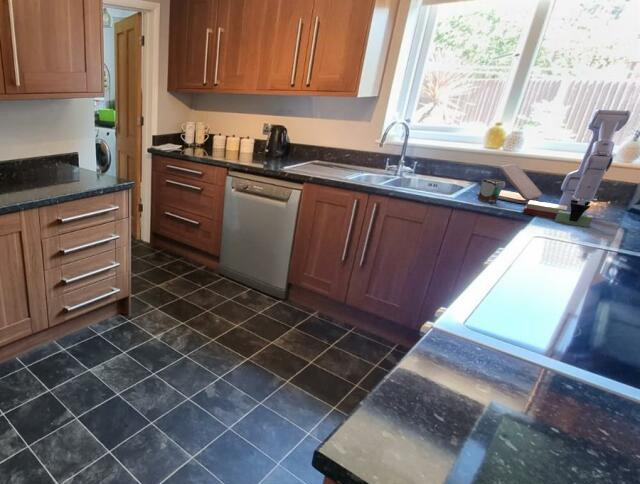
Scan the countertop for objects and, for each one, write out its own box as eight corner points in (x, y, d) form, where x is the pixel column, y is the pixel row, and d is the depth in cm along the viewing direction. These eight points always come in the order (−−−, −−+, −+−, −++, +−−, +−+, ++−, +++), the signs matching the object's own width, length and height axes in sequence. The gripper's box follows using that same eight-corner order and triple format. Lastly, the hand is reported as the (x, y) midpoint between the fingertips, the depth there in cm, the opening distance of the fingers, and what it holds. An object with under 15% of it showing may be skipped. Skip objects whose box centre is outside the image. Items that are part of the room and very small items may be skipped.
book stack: (525, 209, 193) (528, 199, 191) (564, 215, 184) (568, 206, 183) (522, 213, 186) (526, 203, 184) (563, 220, 177) (567, 210, 175)
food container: (504, 205, 199) (512, 184, 195) (490, 203, 200) (497, 183, 196) (489, 198, 210) (496, 178, 207) (475, 197, 211) (482, 177, 208)
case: (525, 205, 201) (538, 171, 195) (474, 195, 217) (485, 163, 211) (542, 201, 210) (555, 168, 204) (492, 191, 227) (503, 161, 221)
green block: (555, 219, 178) (558, 210, 176) (588, 225, 171) (592, 215, 170) (554, 221, 175) (558, 212, 173) (588, 227, 168) (592, 217, 167)
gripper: (602, 190, 160) (586, 225, 165) (601, 186, 170) (586, 218, 175) (576, 187, 165) (562, 220, 170) (577, 183, 174) (563, 214, 179)
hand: (573, 219), depth 172 cm, fingers open, 7 cm apart
